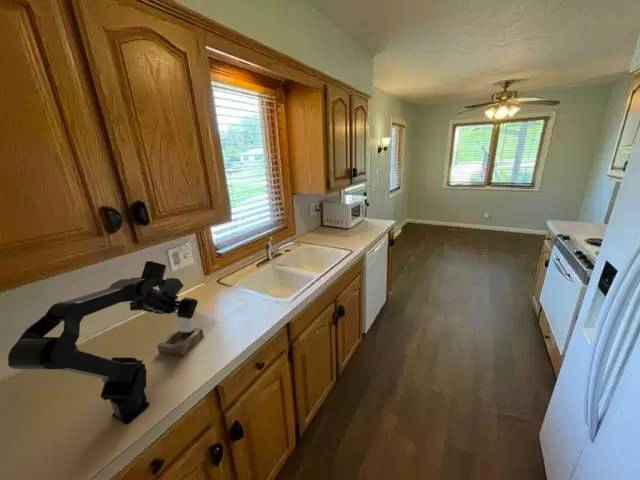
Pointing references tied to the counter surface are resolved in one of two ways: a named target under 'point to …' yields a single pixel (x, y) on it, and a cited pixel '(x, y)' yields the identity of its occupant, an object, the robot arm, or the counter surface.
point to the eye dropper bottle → (184, 323)
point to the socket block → (180, 342)
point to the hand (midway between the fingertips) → (185, 311)
